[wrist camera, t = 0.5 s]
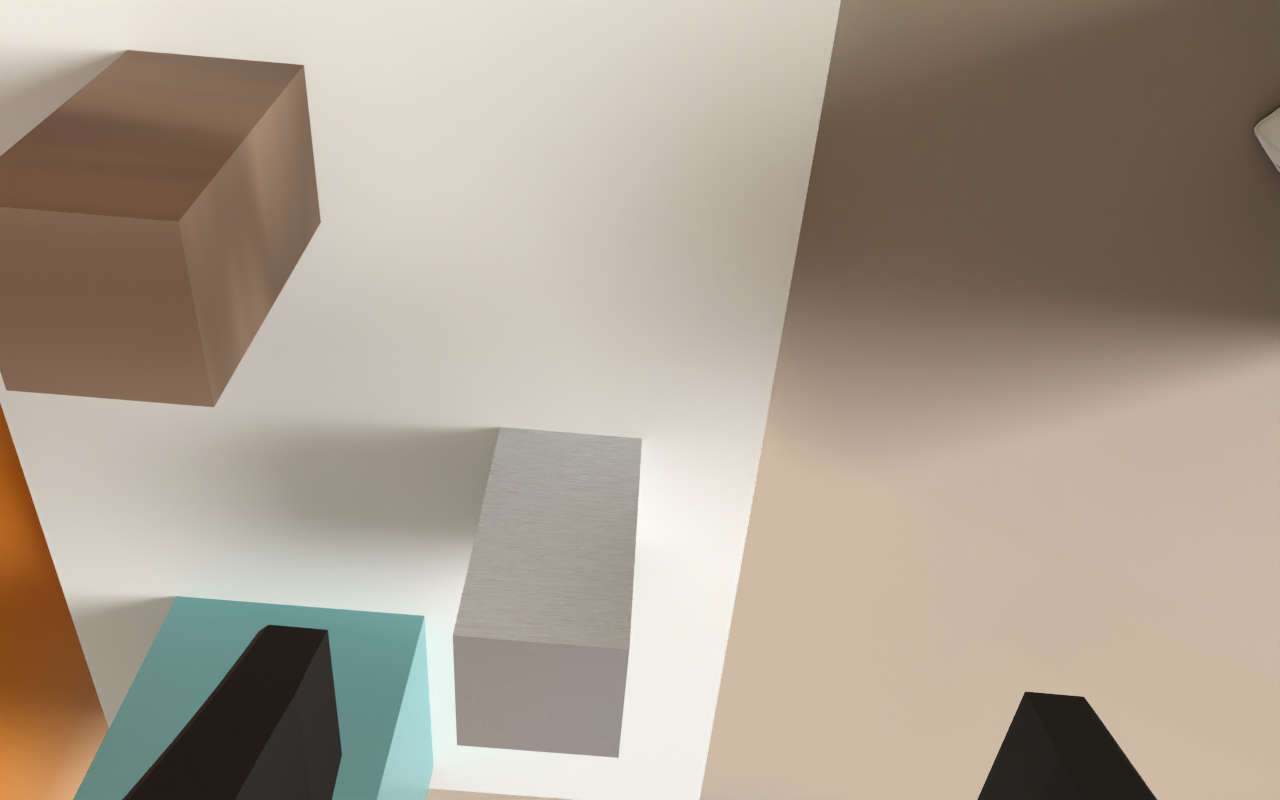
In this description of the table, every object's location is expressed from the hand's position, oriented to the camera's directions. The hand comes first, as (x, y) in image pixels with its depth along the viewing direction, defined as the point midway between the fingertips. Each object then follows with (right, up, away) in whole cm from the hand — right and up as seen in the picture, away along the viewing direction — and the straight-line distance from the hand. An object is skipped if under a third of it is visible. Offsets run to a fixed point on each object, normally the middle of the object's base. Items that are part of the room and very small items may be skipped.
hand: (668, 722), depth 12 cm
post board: (-5, +3, +11) cm, 12 cm away
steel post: (-2, +2, +9) cm, 10 cm away
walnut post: (-7, +7, +6) cm, 11 cm away
